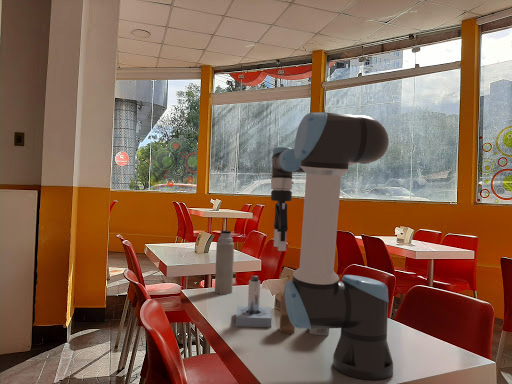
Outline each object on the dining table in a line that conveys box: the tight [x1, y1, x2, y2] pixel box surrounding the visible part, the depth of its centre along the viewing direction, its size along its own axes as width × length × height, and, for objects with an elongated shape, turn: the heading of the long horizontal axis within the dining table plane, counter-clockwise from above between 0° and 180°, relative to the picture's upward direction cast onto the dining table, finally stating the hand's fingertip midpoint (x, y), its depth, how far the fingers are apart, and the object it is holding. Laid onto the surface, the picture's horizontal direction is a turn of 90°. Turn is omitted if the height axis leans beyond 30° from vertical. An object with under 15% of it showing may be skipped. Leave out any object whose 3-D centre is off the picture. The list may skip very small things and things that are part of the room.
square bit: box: [279, 287, 296, 334], centre depth 132 cm, size 4×4×14 cm
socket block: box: [235, 305, 272, 328], centre depth 142 cm, size 14×12×3 cm
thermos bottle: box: [214, 230, 235, 295], centre depth 184 cm, size 8×8×28 cm
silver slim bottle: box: [247, 275, 261, 314], centre depth 142 cm, size 4×4×16 cm
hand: (279, 248), depth 146 cm, fingers open, 13 cm apart
